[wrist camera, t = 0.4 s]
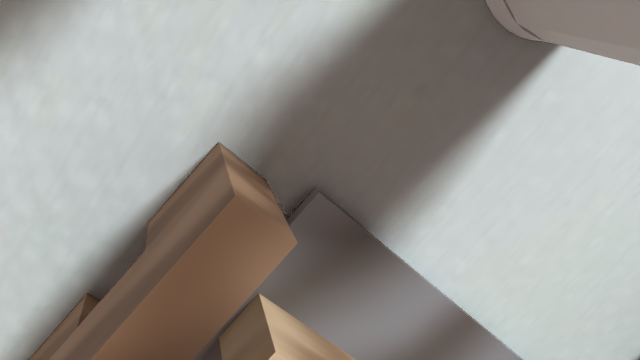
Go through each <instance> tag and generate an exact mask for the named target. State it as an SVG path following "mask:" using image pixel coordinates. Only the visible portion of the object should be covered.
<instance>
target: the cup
mask: <svg viewBox="0 0 640 360" xmlns="http://www.w3.org/2000/svg"><path fill="white" fill-rule="evenodd" d="M485 1H486V3H487V5H488V7H489V9H490V11H491V13H492V14H493V16H494V17H495V18H496V20H497V21H498V22H499V23H500V24H501V25H502V26H503V27H504V28H506V29H507V30H508V31H510V32H511V33H513V34H515V35H517V36H519V37H522V38H525V39H529V40H535V41H543V42H550V43H554V44H558V45H562V46H566V47H569V48H573V49H577V50H581V51H585V52H589V53H593V54H597V55H601V56H604V57H608V58H612V59H616V60H620V61H624V62H628V63H632V64H636V65H640V0H485Z"/></svg>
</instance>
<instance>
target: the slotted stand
mask: <svg viewBox="0 0 640 360" xmlns="http://www.w3.org/2000/svg"><path fill="white" fill-rule="evenodd" d="M286 221H287V223H288V225H289V227H290V229H291V231H292V233H293V235H294V237H295V239H296V241H297V245H296V246H295V247H294V248H293V249H292V250H291V251H290V252H289V253H288V255H287V256H286V257H285V258H284V259H283V260H282V261H281V262H280V263H279V264H278V266H277V267H276V268H275V269H274V270H273V271H272V272H271V273H270V274H269V276H268V277H267V278H266V279H265V280H264V281H263V282H262V283H261V284H260V286H259V287H258V288H257V289H256V290H255V291H254V292H253V293H252V294H251V296H250V297H249V298H248V299H247V300H246V301H245V302H244V303H243V304H242V306H241V307H240V308H239V309H238V310H237V311H236V312H235V313H234V314H233V316H232V317H231V318H230V319H229V320H228V321H227V322H226V323H225V324H224V326H223V327H222V328H221V329H220V330H219V331H218V332H217V333H216V334H215V335H214V337H213V338H212V339H211V340H210V341H209V342H208V343H207V344H206V345H205V347H204V348H203V349H202V350H201V351H200V352H199V353H198V354H197V355H196V357H195V358H194V359H193V360H523V359H521V358H520V357H519V356H518V355H517V354H515V353H514V352H513V351H512V350H510V349H509V348H508V347H507V346H506V345H504V344H503V343H502V342H501V341H500V340H498V339H497V338H496V337H495V336H494V335H492V334H491V333H490V332H489V331H488V330H486V329H485V328H484V327H483V326H482V325H480V324H479V323H478V322H477V321H475V320H474V319H473V318H472V317H471V316H469V315H468V314H467V313H466V312H465V311H463V310H462V309H461V308H460V307H459V306H457V305H456V304H455V303H454V302H453V301H451V300H450V299H449V298H448V297H446V296H445V295H444V294H443V293H442V292H440V291H439V290H438V289H437V288H436V287H434V286H433V285H432V284H431V283H430V282H428V281H427V280H426V279H425V278H424V277H422V276H421V275H420V274H419V273H418V272H416V271H415V270H414V269H413V268H411V267H410V266H409V265H408V264H407V263H405V262H404V261H403V260H402V259H401V258H399V257H398V256H397V255H396V254H395V253H393V252H392V251H391V250H390V249H389V248H387V247H386V246H385V245H384V244H382V243H381V242H380V241H379V240H378V239H376V238H375V237H374V236H373V235H372V234H370V233H369V232H368V231H367V230H366V229H364V228H363V227H362V226H361V225H360V224H358V223H357V222H356V221H355V220H354V219H352V218H351V217H350V216H349V215H347V214H346V213H345V212H344V211H343V210H341V209H340V208H339V207H338V206H337V205H335V204H334V203H333V202H332V201H331V200H329V199H328V198H327V197H326V196H325V195H323V194H322V193H321V192H320V191H319V190H317V189H316V188H315V189H314V190H313V191H312V192H311V193H310V194H309V195H308V196H307V198H306V199H305V200H304V201H303V202H302V203H301V204H300V205H299V207H298V208H297V209H296V210H295V211H294V212H293V213H292V214H291V215H290V217H289V218H288V219H287V220H286Z"/></svg>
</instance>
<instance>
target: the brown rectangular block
mask: <svg viewBox="0 0 640 360" xmlns="http://www.w3.org/2000/svg"><path fill="white" fill-rule="evenodd" d="M296 245H297V241H296V239H295V237H294V235H293V233H292V231H291V229H290V227H289V225H288V223H287V221H286V219H285V217H284V215H283V213H282V211H281V209H280V207H279V205H278V203H277V201H276V199H275V197H274V195H273V193H272V191H271V189H270V187H269V185H268V183H267V181H266V179H264V178H263V177H262V176H261V175H259V174H258V173H257V172H256V171H254V170H253V169H252V168H251V167H249V166H248V165H247V164H246V163H244V162H243V161H242V160H241V159H239V158H238V157H237V156H236V155H234V154H233V153H232V152H231V151H229V150H228V149H227V148H226V147H224V146H223V145H222V144H221V143H219V142H218V143H217V144H216V146H215V147H214V148H213V149H212V150H211V151H210V153H209V154H208V155H207V156H206V157H205V158H204V159H203V161H202V162H201V163H200V164H199V165H198V166H197V167H196V169H195V170H194V171H193V172H192V173H191V174H190V175H189V177H188V178H187V179H186V180H185V181H184V182H183V184H182V185H181V186H180V187H179V188H178V189H177V190H176V192H175V193H174V194H173V195H172V196H171V197H170V198H169V200H168V201H167V202H166V203H165V204H164V205H163V207H162V208H161V209H160V210H159V211H158V212H157V213H156V215H155V216H154V217H153V218H152V219H151V220H150V221H149V223H148V228H147V237H146V246H145V251H144V252H143V253H142V254H141V255H140V256H139V258H138V259H137V260H136V261H135V262H134V263H133V264H132V266H131V267H130V268H129V269H128V270H127V271H126V272H125V274H124V275H123V276H122V277H121V278H120V279H119V280H118V282H117V283H116V284H115V285H114V286H113V287H112V288H111V290H110V291H109V292H108V293H107V294H106V295H105V296H104V298H103V299H102V300H101V301H99V300H97V299H95V298H94V297H92V296H90V295H89V294H86V295H85V296H84V297H83V298H82V300H81V301H80V302H79V303H78V304H77V305H76V306H75V308H74V309H73V310H72V311H71V312H70V313H69V314H68V316H67V317H66V318H65V319H64V320H63V321H62V323H61V324H60V325H59V326H58V327H57V328H56V329H55V331H54V332H53V333H52V334H51V335H50V336H49V337H48V339H47V340H46V341H45V342H44V343H43V344H42V345H41V347H40V348H39V349H38V350H37V351H36V352H35V354H34V355H33V356H32V357H31V358H30V359H29V360H193V359H194V358H195V357H196V355H197V354H198V353H199V352H200V351H201V350H202V349H203V348H204V347H205V345H206V344H207V343H208V342H209V341H210V340H211V339H212V338H213V337H214V335H215V334H216V333H217V332H218V331H219V330H220V329H221V328H222V327H223V326H224V324H225V323H226V322H227V321H228V320H229V319H230V318H231V317H232V316H233V314H234V313H235V312H236V311H237V310H238V309H239V308H240V307H241V306H242V304H243V303H244V302H245V301H246V300H247V299H248V298H249V297H250V296H251V294H252V293H253V292H254V291H255V290H256V289H257V288H258V287H259V286H260V284H261V283H262V282H263V281H264V280H265V279H266V278H267V277H268V276H269V274H270V273H271V272H272V271H273V270H274V269H275V268H276V267H277V266H278V264H279V263H280V262H281V261H282V260H283V259H284V258H285V257H286V256H287V255H288V253H289V252H290V251H291V250H292V249H293V248H294V247H295V246H296Z"/></svg>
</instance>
